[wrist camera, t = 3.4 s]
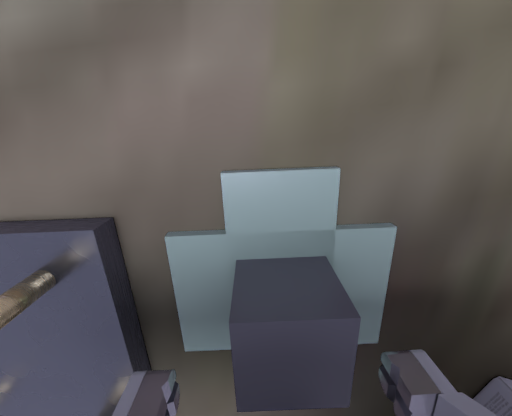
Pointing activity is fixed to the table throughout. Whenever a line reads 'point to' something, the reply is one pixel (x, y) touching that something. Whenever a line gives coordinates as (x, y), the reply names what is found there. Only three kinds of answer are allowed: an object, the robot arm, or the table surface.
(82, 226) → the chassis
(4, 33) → the table surface
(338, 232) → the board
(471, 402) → the robot arm
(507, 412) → the ink box
